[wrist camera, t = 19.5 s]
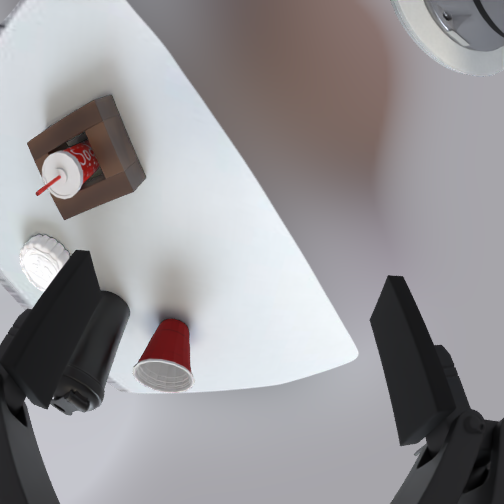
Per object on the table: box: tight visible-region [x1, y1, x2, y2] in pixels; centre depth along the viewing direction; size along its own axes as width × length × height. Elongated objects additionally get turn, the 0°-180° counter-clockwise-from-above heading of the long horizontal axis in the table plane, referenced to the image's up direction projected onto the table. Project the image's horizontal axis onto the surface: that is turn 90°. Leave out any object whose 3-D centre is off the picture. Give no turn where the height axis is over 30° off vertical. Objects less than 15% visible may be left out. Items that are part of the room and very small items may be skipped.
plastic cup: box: [132, 319, 195, 393], centre depth 53 cm, size 11×11×12 cm
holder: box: [27, 95, 146, 220], centre depth 37 cm, size 13×13×5 cm
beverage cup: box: [36, 140, 100, 199], centre depth 33 cm, size 6×6×14 cm
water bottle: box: [50, 291, 130, 415], centre depth 46 cm, size 10×10×23 cm
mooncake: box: [19, 235, 70, 291], centre depth 48 cm, size 12×12×4 cm
